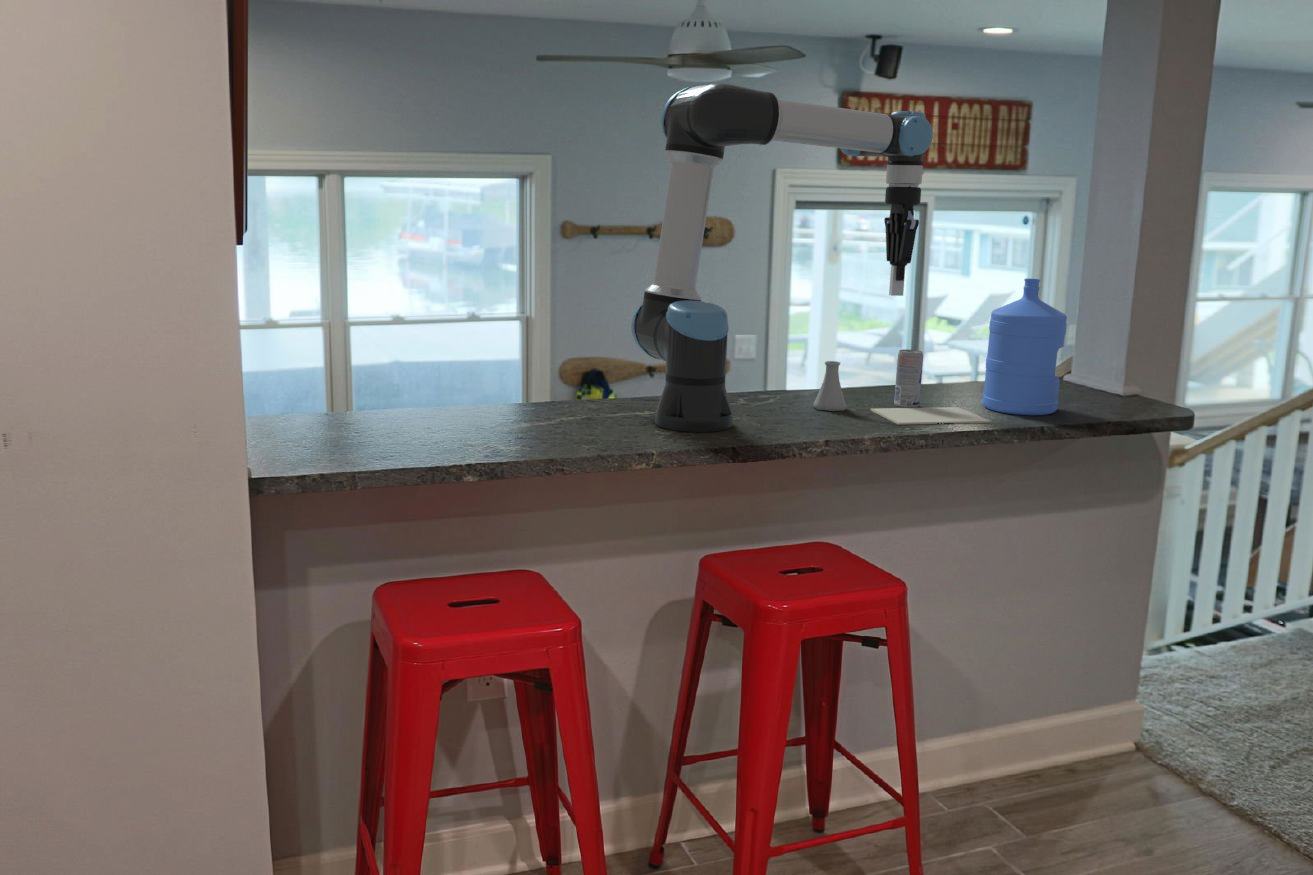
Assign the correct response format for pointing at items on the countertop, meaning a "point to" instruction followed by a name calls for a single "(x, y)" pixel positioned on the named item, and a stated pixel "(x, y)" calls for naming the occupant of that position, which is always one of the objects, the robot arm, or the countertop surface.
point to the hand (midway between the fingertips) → (896, 295)
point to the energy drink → (908, 378)
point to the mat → (929, 415)
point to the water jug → (1024, 355)
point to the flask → (830, 390)
